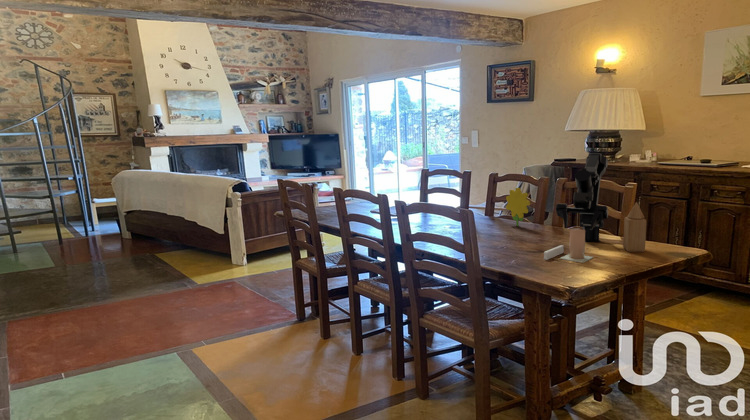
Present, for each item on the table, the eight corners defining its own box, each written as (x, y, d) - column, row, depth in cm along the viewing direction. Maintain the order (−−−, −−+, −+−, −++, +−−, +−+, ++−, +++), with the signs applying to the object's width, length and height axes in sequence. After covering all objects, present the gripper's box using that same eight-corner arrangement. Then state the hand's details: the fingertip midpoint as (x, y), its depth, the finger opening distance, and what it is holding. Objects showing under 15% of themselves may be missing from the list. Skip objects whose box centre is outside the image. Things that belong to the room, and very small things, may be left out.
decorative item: (530, 227, 247) (530, 188, 244) (528, 228, 246) (528, 189, 243) (507, 223, 260) (507, 186, 257) (505, 223, 260) (506, 186, 256)
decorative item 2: (645, 252, 194) (648, 202, 191) (627, 252, 195) (629, 202, 192) (639, 248, 200) (642, 200, 197) (622, 248, 202) (624, 200, 198)
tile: (570, 254, 195) (570, 253, 195) (593, 257, 189) (593, 256, 189) (559, 258, 189) (559, 257, 189) (582, 262, 183) (582, 261, 183)
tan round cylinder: (576, 254, 192) (577, 227, 191) (587, 258, 187) (588, 230, 186) (565, 256, 191) (566, 229, 189) (576, 259, 186) (577, 231, 184)
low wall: (560, 252, 199) (560, 245, 198) (563, 252, 198) (563, 245, 197) (543, 259, 189) (544, 251, 189) (546, 259, 188) (546, 252, 188)
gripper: (557, 183, 195) (550, 215, 188) (608, 184, 185) (602, 218, 178) (560, 200, 203) (554, 231, 196) (610, 202, 193) (605, 235, 186)
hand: (578, 228), depth 189 cm, fingers open, 9 cm apart
